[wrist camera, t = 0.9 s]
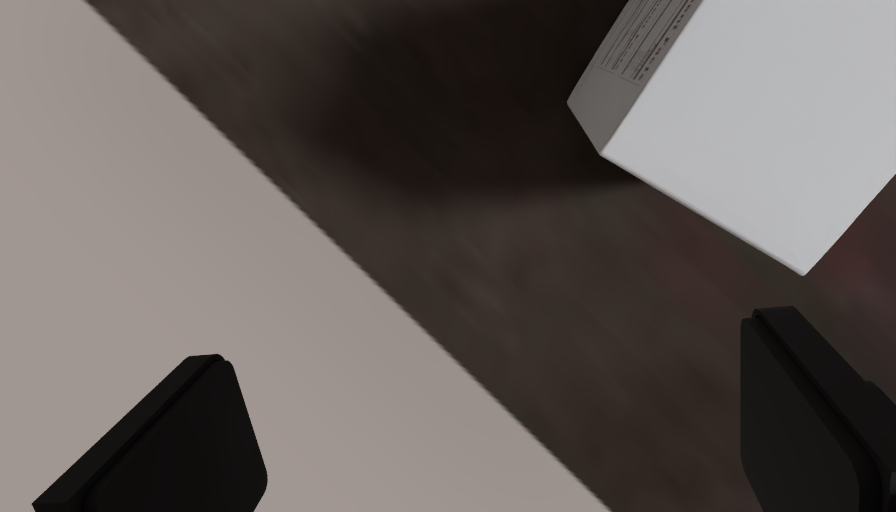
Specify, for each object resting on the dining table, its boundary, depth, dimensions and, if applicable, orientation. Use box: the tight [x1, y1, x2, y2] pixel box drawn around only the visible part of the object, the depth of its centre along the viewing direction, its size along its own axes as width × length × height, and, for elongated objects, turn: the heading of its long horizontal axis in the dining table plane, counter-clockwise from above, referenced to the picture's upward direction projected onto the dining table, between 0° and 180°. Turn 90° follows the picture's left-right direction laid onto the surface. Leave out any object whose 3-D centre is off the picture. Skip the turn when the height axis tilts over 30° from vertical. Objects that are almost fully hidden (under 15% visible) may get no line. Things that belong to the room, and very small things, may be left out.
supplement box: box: [567, 0, 896, 276], centre depth 28 cm, size 10×9×17 cm
